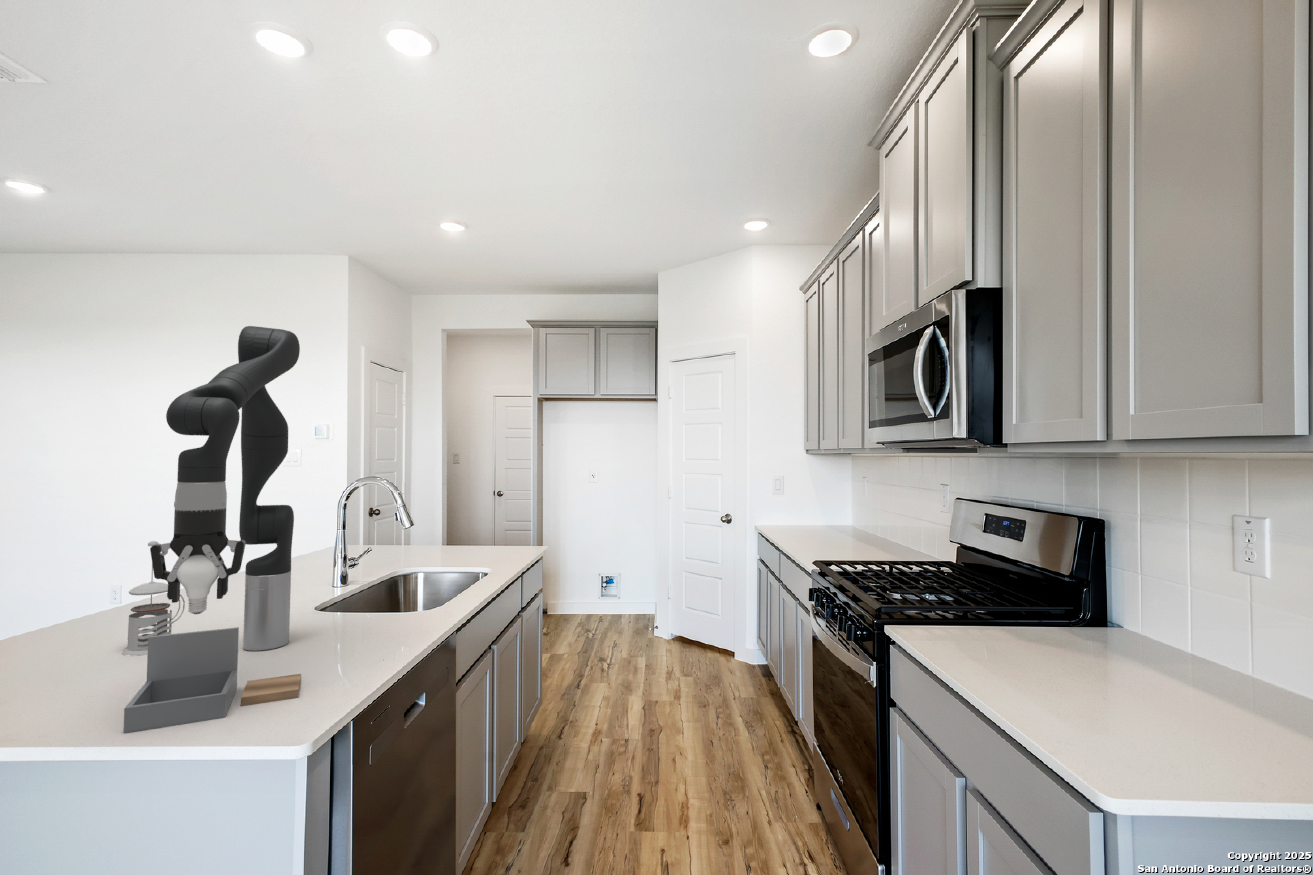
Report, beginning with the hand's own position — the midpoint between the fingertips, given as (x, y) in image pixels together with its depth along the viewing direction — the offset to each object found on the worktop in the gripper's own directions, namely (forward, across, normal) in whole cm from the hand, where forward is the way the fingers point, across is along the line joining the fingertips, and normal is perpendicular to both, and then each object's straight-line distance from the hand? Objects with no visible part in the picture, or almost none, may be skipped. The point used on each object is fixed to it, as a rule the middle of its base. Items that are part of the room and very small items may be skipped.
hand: (198, 599), depth 109 cm
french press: (+20, +16, -44) cm, 51 cm away
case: (+19, +1, +1) cm, 19 cm away
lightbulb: (+3, 0, 0) cm, 3 cm away
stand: (+19, -12, -2) cm, 23 cm away
